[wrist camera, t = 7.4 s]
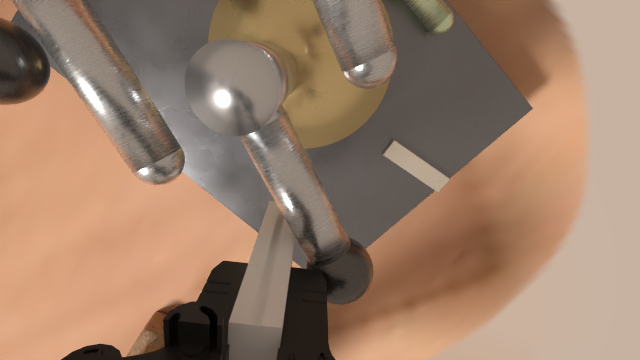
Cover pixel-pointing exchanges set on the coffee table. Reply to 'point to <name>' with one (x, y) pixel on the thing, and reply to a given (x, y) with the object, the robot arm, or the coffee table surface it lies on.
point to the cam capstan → (232, 99)
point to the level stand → (352, 151)
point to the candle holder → (150, 336)
